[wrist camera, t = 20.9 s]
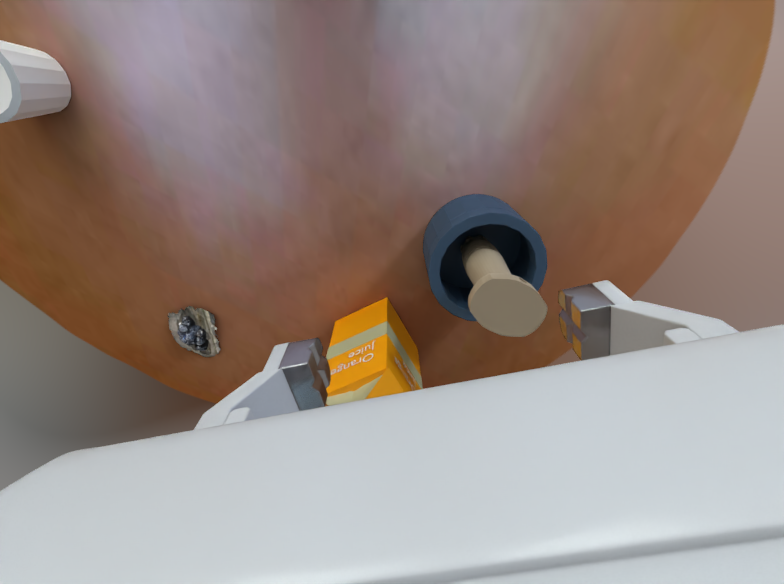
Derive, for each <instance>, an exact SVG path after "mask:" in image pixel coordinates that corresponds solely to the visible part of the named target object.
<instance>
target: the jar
mask: <svg viewBox="0 0 784 584" xmlns="http://www.w3.org/2000/svg"><path fill="white" fill-rule="evenodd" d="M479 235H481V236H483V237H485V238H486V239H487V241H489V242H490V243H491V244H492V245H493V246H494V247H495V248H496V249H497V250H498V251H499V253H500V254H501V255H502V257H503V259H504V261H505V263H506V265H507V267H508V269H509V271H510V273H511V275H515V276H518V277H520V278H522V279H524V280H525V281H527V282H528V283H530V284H531V285H532V286H533V287H534V288H535V289H536V291H538V290H539V288H540V287H541V285H542V284H543V280H544V277H545V273H546V270H547V255H546V248H545V246H544V244H543V242H542V239H541V237H540V235H539V234H538V232H537V231H536V230H534V229H533V228H532V227H531V226H530V225H529V224H528V223H527V222H526V221H525V220H524V219H523V218H522V217H521V216H520V215H519V214H518V213H517V212H515V211H514V210H513V209H512V208H511V207H510V206H509V205H508V204H507V203H505V202H503V201H501V200H500V199H498V198H495V197H492V196H488V195H482V194H472V195H466V196H462V197H459V198H457V199H454V200H452V201H451V202H449V203H447V204H446V205H444V206H443V207H442V208H441V209H440V210H439V211H438V212H437V213H436V214H435V215H434V216H433V218H432V219H431V221H430V222H429V224H428V226H427V228H426V231H425V235H424V240H423V253H424V258H425V263H426V267H427V272H428V277H429V281H430V286H431V290H432V292H433V294H434V295H435V297H436V299H437V300H438V302H439V304H440V305H442V306H443V307H444V308H445V309H446V310H448V311H449V312H450V313H451V314H453V315H455V316H458V317H460V318H463V319H465V320H469V321H477V320H476V318H475V317H474V316H473V314H472V313H471V312H470V310H469V307H468V297H469V294H470V291H471V290H472V288H473V286H474V285H473V283H472V282H471V280H470V278H469V277H468V275H467V273H466V271H465V268H464V265H463V261H462V253H461V251H460V248H461V245H463V244H464V242H465V240H466V237H468V236H471V237H476V236H479Z"/></svg>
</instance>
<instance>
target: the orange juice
mask: <svg viewBox="0 0 784 584" xmlns="http://www.w3.org/2000/svg"><path fill="white" fill-rule="evenodd" d="M326 358H327V360H328V363H329V367H330V373H331V381H330V385H329V386H328V387H327V388H326V390H327V393H328V396H327V400H326V405H325V406H331V405H336V404H342V403H348V402H353V401H359V400H364V399H370V398H376V397H381V396H387V395H392V394H398V393H404V392H409V391H415V390H420V389H423V387H422V379H421V373H420V364H419V355H418V349H417V347H416V345H415V343H414V342H413V340H412V338H411V337H410V335H409V333H408V332H407V330H406V328H405V326H404V325H403V323H402V321H401V320H400V318H399V316H398V315H397V313H396V311H395V310H394V308H393V306H392V304H391V303H390V301H389V299H388V298H387V297H386V298H384V299H382V300H380V301H378V302H376V303H373V304H371V305H369V306H367V307H365V308H363V309H361V310H359V311H356V312H354V313H352V314H350V315H348V316H346V317H344V318H342V319H339V320H337V321H335V325H334V329H333V333H332V337H331V342H330V346H329V348H328V352H327V356H326Z"/></svg>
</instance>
